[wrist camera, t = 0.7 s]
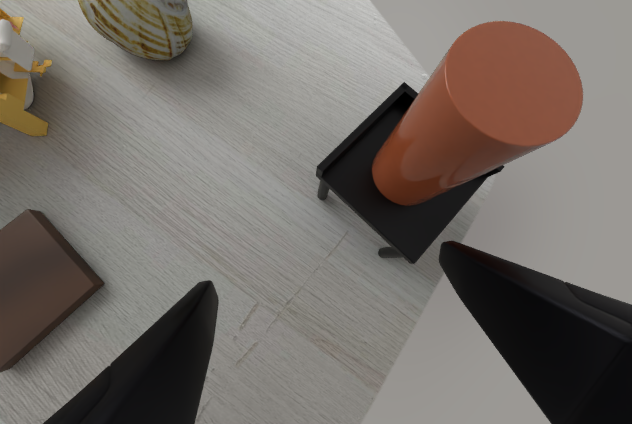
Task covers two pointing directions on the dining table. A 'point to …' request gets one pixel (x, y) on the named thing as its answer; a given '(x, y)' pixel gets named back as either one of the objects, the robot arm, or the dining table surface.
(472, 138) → the orange cylinder
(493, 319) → the robot arm
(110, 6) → the seashell
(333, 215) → the dining table surface
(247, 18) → the dining table surface
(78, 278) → the plate
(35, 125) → the figure
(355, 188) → the black footed tray
